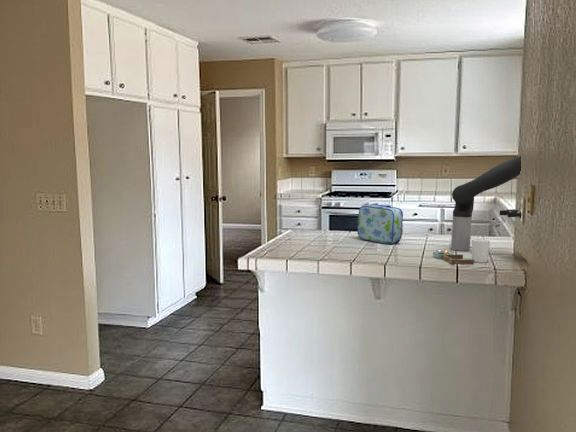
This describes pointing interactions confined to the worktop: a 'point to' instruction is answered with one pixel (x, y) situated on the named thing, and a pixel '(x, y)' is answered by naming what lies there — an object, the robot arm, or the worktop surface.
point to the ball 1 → (439, 251)
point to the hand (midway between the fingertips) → (504, 213)
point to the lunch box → (380, 223)
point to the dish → (440, 255)
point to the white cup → (480, 250)
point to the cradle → (451, 260)
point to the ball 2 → (445, 252)
